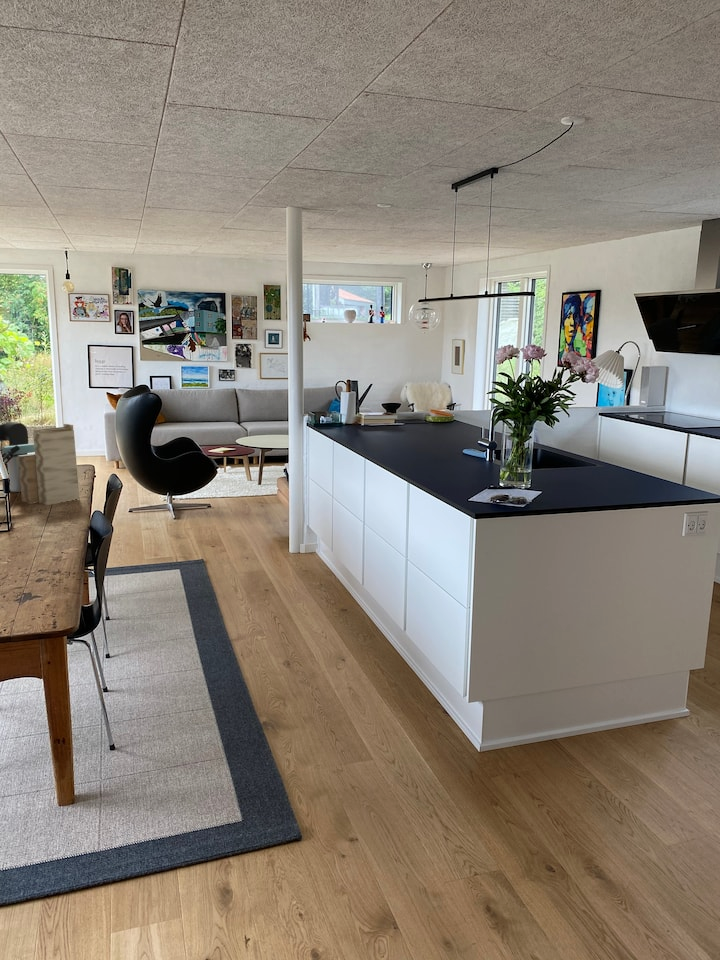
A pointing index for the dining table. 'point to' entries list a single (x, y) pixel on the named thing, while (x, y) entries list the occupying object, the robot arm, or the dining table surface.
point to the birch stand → (56, 464)
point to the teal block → (21, 448)
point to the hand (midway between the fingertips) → (16, 446)
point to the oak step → (28, 478)
